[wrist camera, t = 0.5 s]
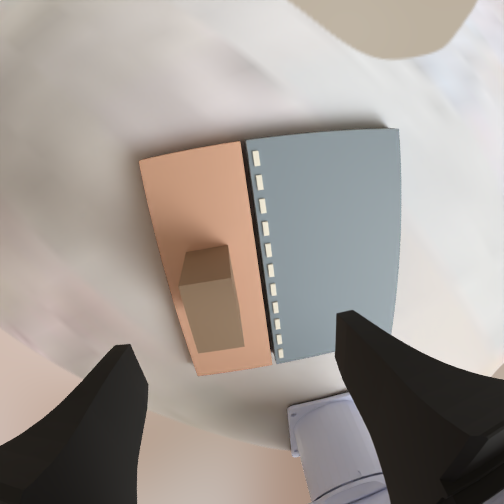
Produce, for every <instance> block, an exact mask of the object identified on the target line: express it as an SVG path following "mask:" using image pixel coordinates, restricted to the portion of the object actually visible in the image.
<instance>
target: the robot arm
mask: <svg viewBox="0 0 504 504" xmlns="http://www.w3.org/2000/svg"><path fill="white" fill-rule="evenodd" d="M335 359H336V362H337V365H338V368H339V371H340V373H341V376H342V379H343V381H344V383H345V385H346V387H347V389H348V391H349V392H347V393H343V394H339V395H336V396H332V397H328V398H324V399H319V400H315V401H311V402H306V403H302V404H297V405H292V406H290V407H288V409H287V414H288V423H289V433H290V443H291V453H292V456H293V457H298V456H300V458H301V462H302V466H303V470H304V474H305V478H306V481H307V485H308V489H309V493H310V497H311V501H312V503H309V504H504V380H502V379H497V378H492V377H488V376H483V375H479V374H475V373H472V372H469V371H466V370H463V369H459V368H456V367H454V366H451V365H448V364H446V363H443V362H441V361H439V360H437V359H434V358H432V357H430V356H428V355H426V354H424V353H422V352H420V351H418V350H416V349H414V348H412V347H410V346H409V345H407V344H405V343H403V342H402V341H400V340H398V339H397V338H395V337H393V336H392V335H390V334H389V333H387V332H386V331H384V330H383V329H381V328H379V327H378V326H377V325H375V324H374V323H372V322H371V321H369V320H368V319H366V318H365V317H363V316H362V315H360V314H359V313H357V312H356V311H354V310H349V311H344V312H340V313H336V343H335ZM147 402H148V383H147V380H146V378H145V376H144V374H143V372H142V370H141V368H140V365H139V363H138V361H137V359H136V356H135V354H134V352H133V349H132V347H131V345H130V344H125V345H115V346H114V347H113V348H112V349H111V350H110V351H109V352H108V353H107V354H106V355H105V356H104V357H103V358H102V360H101V361H100V362H99V363H98V364H97V365H96V366H95V367H94V368H93V370H92V371H91V372H90V373H89V374H88V375H87V376H86V377H85V378H84V380H83V381H82V382H81V383H80V384H79V385H78V386H77V387H76V388H75V389H74V390H73V391H72V392H71V393H70V394H69V395H68V396H67V397H66V398H65V399H64V400H63V401H62V402H61V403H60V404H59V405H58V406H57V407H56V408H55V409H53V410H52V411H51V412H50V413H49V414H47V415H46V416H45V417H44V418H43V419H41V420H40V421H39V422H37V423H36V424H34V425H33V426H32V427H30V428H29V429H28V430H26V431H25V432H23V433H22V434H20V435H19V436H17V437H15V438H14V439H12V440H10V441H8V442H6V443H5V444H3V445H1V446H0V504H137V465H138V457H139V450H140V445H141V440H142V433H143V428H144V423H145V418H146V412H147Z"/></svg>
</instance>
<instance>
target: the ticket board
mask: <svg viewBox="0 0 504 504" xmlns="http://www.w3.org/2000/svg"><path fill="white" fill-rule="evenodd" d="M244 142H245V149H246V156H247V163H248V170H249V177H250V184H251V191H252V198H253V205H254V212H255V219H256V226H257V233H258V241H259V248H260V255H261V262H262V269H263V277H264V284H265V291H266V299H267V306H268V314H269V321H270V328H271V336H272V343H273V351H274V356H275V360H276V364H279V363H284V362H290V361H294V360H299V359H304V358H309V357H313V356H318V355H322V354H327V353H331V352H335V343H336V313H340V312H344V311H349V310H354V311H356V312H357V313H359V314H360V315H362V316H363V317H365V318H366V319H368V320H369V321H371V322H372V323H374V324H375V325H377V326H378V327H379V328H381V329H383V330H384V331H386V332H387V333H389V334H390V335H391V332H392V325H393V317H394V309H395V301H396V292H397V281H398V269H399V255H400V236H401V158H400V139H399V129H394V128H372V129H349V130H333V131H320V132H308V133H297V134H288V135H279V136H270V137H262V138H255V139H248V140H244Z"/></svg>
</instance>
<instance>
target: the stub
mask: <svg viewBox="0 0 504 504" xmlns="http://www.w3.org/2000/svg"><path fill="white" fill-rule="evenodd" d="M139 165H140V170H141V175H142V180H143V185H144V189H145V194H146V198H147V203H148V207H149V212H150V216H151V220H152V224H153V228H154V232H155V236H156V240H157V244H158V248H159V252H160V256H161V260H162V263H163V267H164V271H165V274H166V278H167V281H168V285H169V288H170V292H171V295H172V298H173V302H174V305H175V308H176V312H177V315H178V318H179V321H180V325H181V328H182V331H183V334H184V337H185V340H186V343H187V346H188V349H189V352H190V355H191V358H192V361H193V364H194V367H195V369H196V372H197V375H198V376H203V375H211V374H218V373H225V372H232V371H239V370H245V369H251V368H257V367H263V366H269V365H272V359H271V352H270V345H269V338H268V330H267V323H266V316H265V309H264V302H263V295H262V288H261V281H260V274H259V267H258V260H257V253H256V246H255V239H254V232H253V225H252V219H251V212H250V205H249V198H248V191H247V184H246V177H245V171H244V164H243V157H242V150H241V143H240V141H235V142H229V143H222V144H216V145H210V146H205V147H199V148H194V149H189V150H183V151H178V152H174V153H169V154H164V155H159V156H155V157H150V158H146V159H142V160H140V161H139Z"/></svg>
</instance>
